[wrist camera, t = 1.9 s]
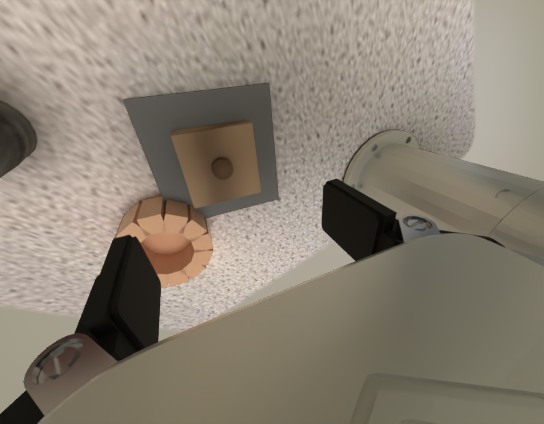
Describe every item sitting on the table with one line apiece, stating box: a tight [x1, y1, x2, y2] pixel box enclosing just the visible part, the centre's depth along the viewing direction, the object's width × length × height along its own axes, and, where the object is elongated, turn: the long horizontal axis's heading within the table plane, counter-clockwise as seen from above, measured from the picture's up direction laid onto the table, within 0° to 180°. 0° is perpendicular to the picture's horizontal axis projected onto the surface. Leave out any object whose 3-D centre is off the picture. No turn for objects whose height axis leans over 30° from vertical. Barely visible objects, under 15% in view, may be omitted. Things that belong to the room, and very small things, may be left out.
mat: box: [123, 83, 279, 218], centre depth 22 cm, size 12×12×1 cm
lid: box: [171, 120, 261, 208], centre depth 20 cm, size 7×7×3 cm
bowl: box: [114, 196, 213, 288], centre depth 22 cm, size 9×9×4 cm
